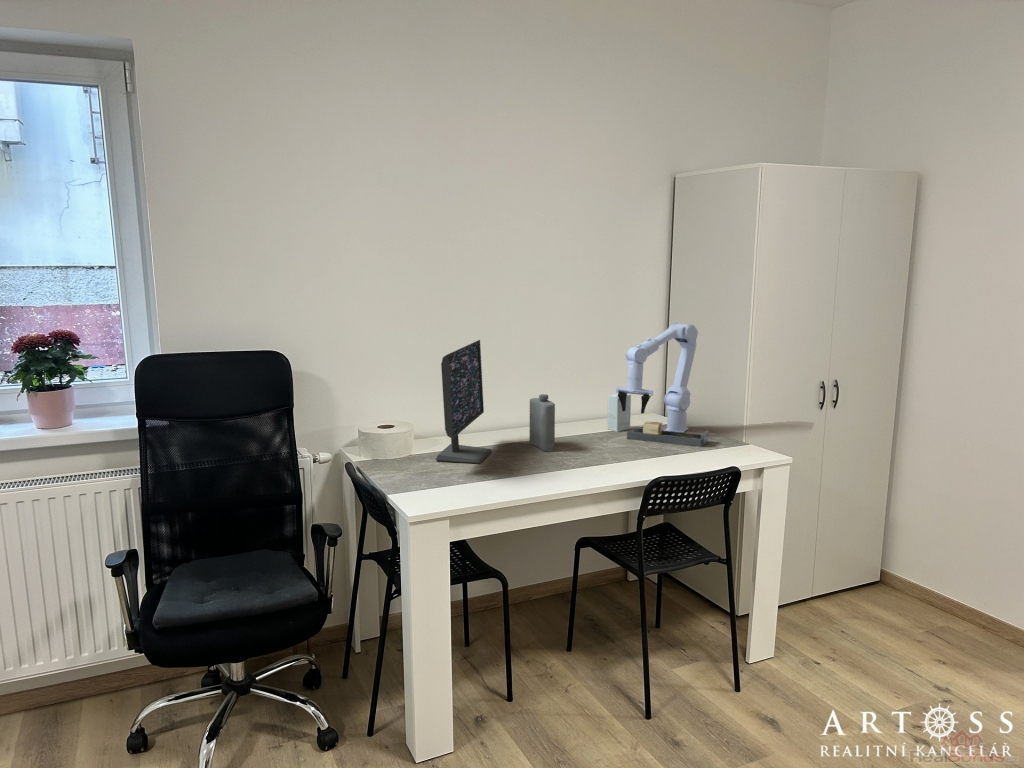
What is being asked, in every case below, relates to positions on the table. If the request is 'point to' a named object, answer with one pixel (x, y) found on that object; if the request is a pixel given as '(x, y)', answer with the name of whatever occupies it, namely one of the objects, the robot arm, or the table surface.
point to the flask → (542, 423)
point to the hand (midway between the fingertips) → (633, 412)
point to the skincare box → (618, 413)
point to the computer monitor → (462, 401)
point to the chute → (671, 437)
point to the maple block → (652, 428)
